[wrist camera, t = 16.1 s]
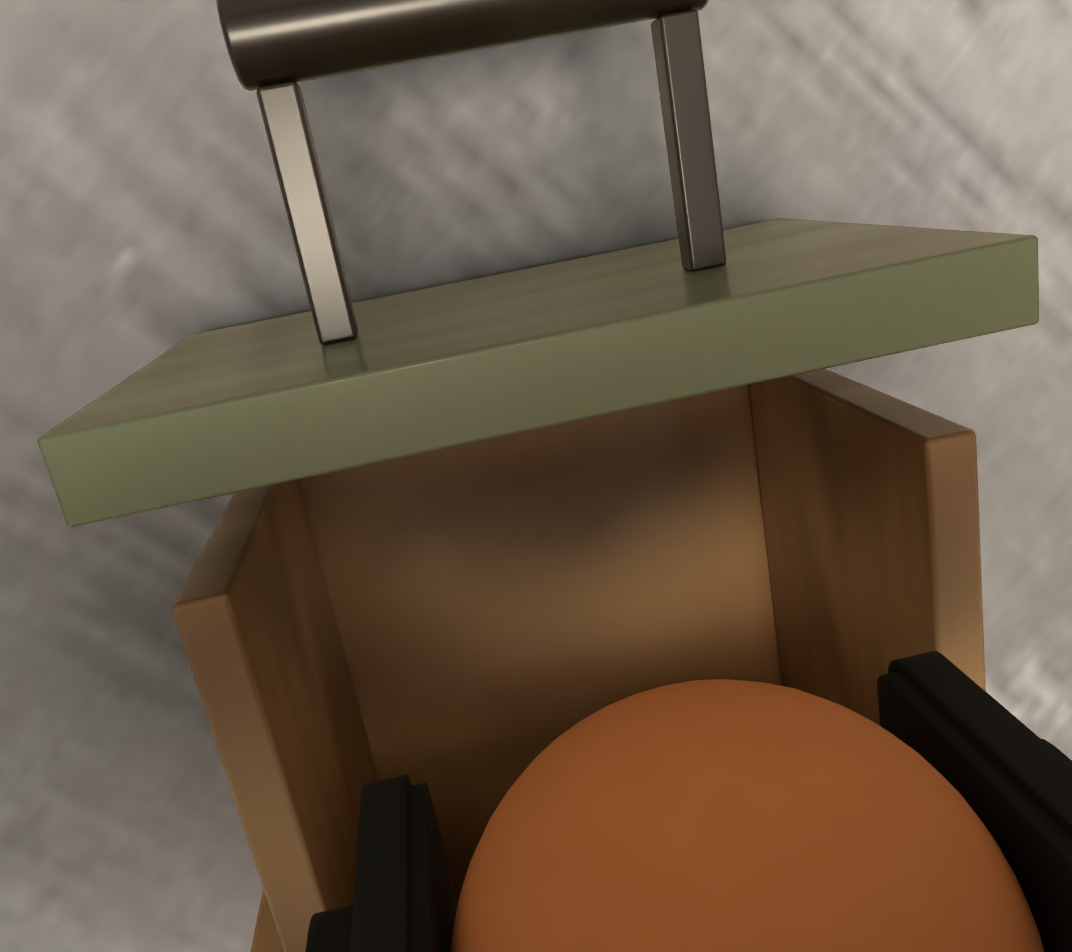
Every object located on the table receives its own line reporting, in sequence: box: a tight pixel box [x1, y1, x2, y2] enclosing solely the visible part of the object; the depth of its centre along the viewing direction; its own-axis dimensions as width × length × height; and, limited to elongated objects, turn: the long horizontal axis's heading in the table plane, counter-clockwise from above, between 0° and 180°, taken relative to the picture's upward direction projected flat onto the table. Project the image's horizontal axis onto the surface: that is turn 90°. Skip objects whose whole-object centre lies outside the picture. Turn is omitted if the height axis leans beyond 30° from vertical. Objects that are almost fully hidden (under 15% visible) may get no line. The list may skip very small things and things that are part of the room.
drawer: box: [38, 0, 1039, 952], centre depth 18 cm, size 21×13×9 cm, turn 10°
